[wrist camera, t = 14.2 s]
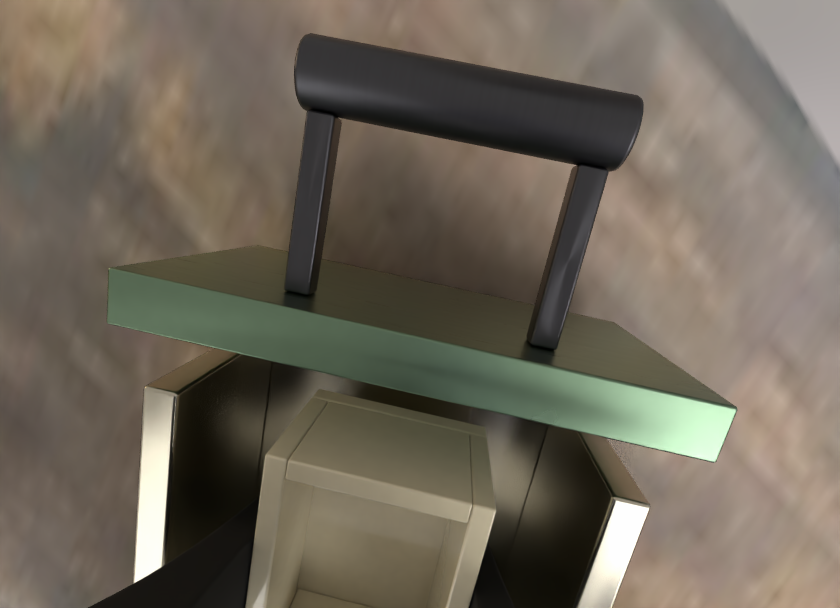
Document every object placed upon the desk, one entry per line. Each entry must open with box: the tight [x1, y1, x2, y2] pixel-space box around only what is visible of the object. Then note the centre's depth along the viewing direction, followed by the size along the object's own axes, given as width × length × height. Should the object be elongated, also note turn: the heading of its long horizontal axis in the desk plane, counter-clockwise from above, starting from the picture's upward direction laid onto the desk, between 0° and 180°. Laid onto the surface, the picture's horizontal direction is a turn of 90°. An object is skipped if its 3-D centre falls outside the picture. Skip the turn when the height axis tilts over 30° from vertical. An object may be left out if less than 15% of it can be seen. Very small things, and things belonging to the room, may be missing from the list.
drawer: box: [107, 33, 737, 608], centre depth 12 cm, size 21×12×6 cm, turn 168°
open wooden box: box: [245, 389, 496, 608], centre depth 11 cm, size 5×7×4 cm
